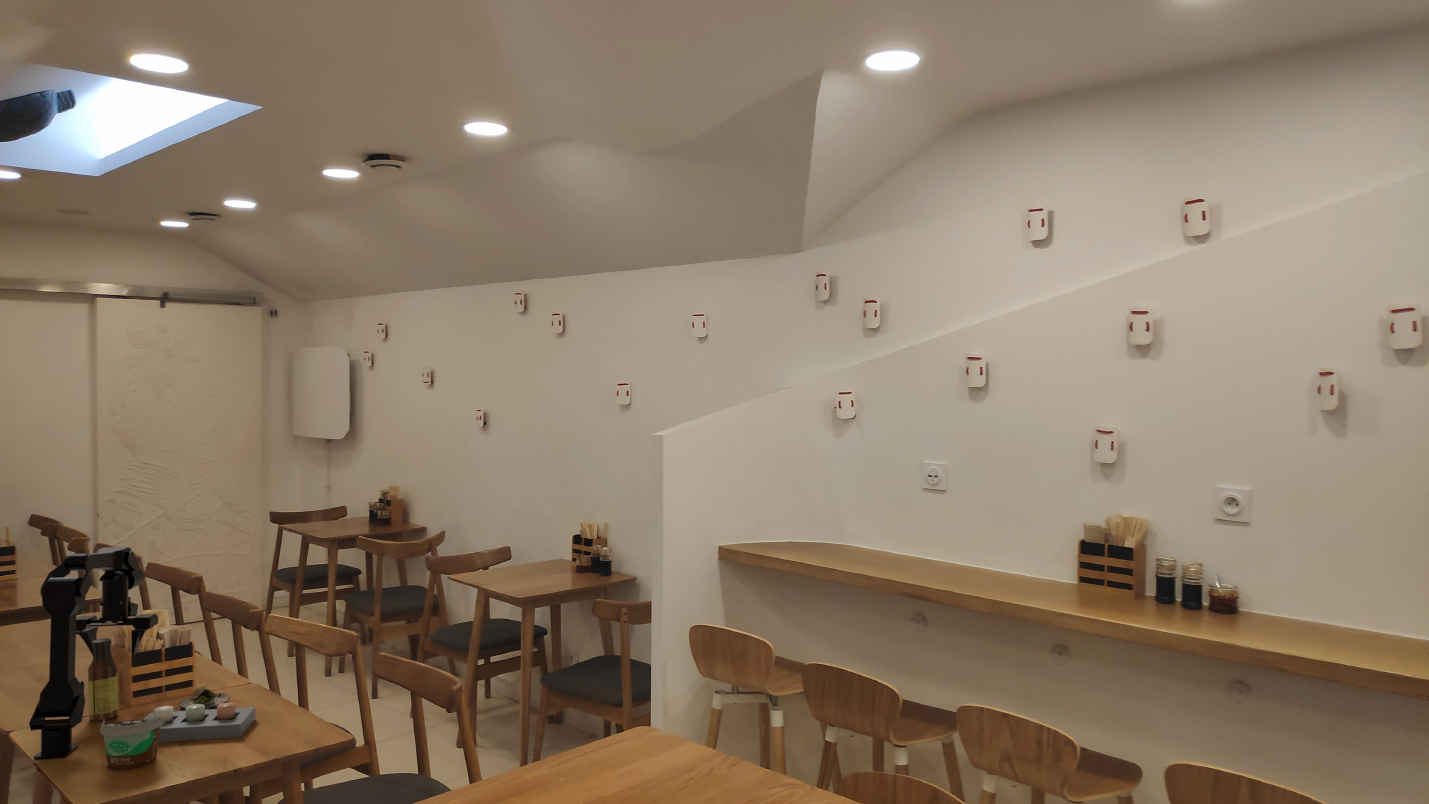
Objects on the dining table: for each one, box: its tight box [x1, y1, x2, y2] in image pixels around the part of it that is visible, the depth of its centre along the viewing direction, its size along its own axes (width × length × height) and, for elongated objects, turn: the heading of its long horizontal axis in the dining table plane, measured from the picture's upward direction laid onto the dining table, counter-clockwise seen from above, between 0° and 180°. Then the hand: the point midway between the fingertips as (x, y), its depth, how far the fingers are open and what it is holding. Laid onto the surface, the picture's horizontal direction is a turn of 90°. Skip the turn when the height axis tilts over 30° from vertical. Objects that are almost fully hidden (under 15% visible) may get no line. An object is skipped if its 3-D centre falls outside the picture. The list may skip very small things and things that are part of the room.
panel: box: [142, 706, 256, 743], centre depth 218 cm, size 12×24×3 cm, turn 102°
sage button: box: [186, 704, 205, 722], centre depth 218 cm, size 4×4×3 cm
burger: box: [178, 679, 231, 711], centre depth 236 cm, size 12×12×8 cm
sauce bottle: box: [87, 637, 119, 722], centre depth 227 cm, size 6×6×20 cm
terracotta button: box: [216, 702, 237, 720], centre depth 220 cm, size 4×4×3 cm
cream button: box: [153, 705, 174, 723], centre depth 217 cm, size 4×4×3 cm
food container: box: [99, 715, 164, 772], centre depth 197 cm, size 12×6×10 cm, turn 105°
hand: (114, 655), depth 232 cm, fingers open, 9 cm apart
